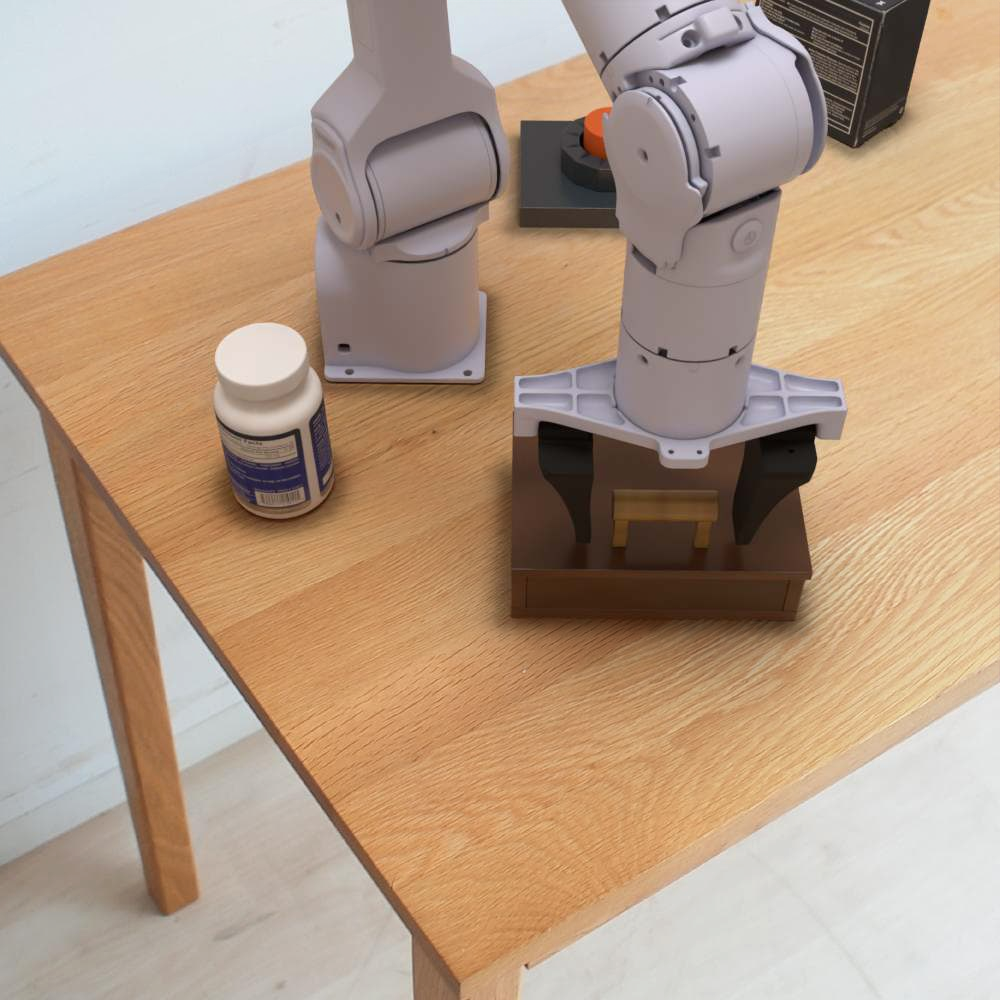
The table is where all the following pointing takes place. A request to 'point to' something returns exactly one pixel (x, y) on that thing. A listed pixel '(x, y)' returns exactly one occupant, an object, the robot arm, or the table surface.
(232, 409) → the pill bottle
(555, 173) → the control block
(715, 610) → the compartment
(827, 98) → the small box
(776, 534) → the lid
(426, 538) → the table surface
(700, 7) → the robot arm
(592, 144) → the button
